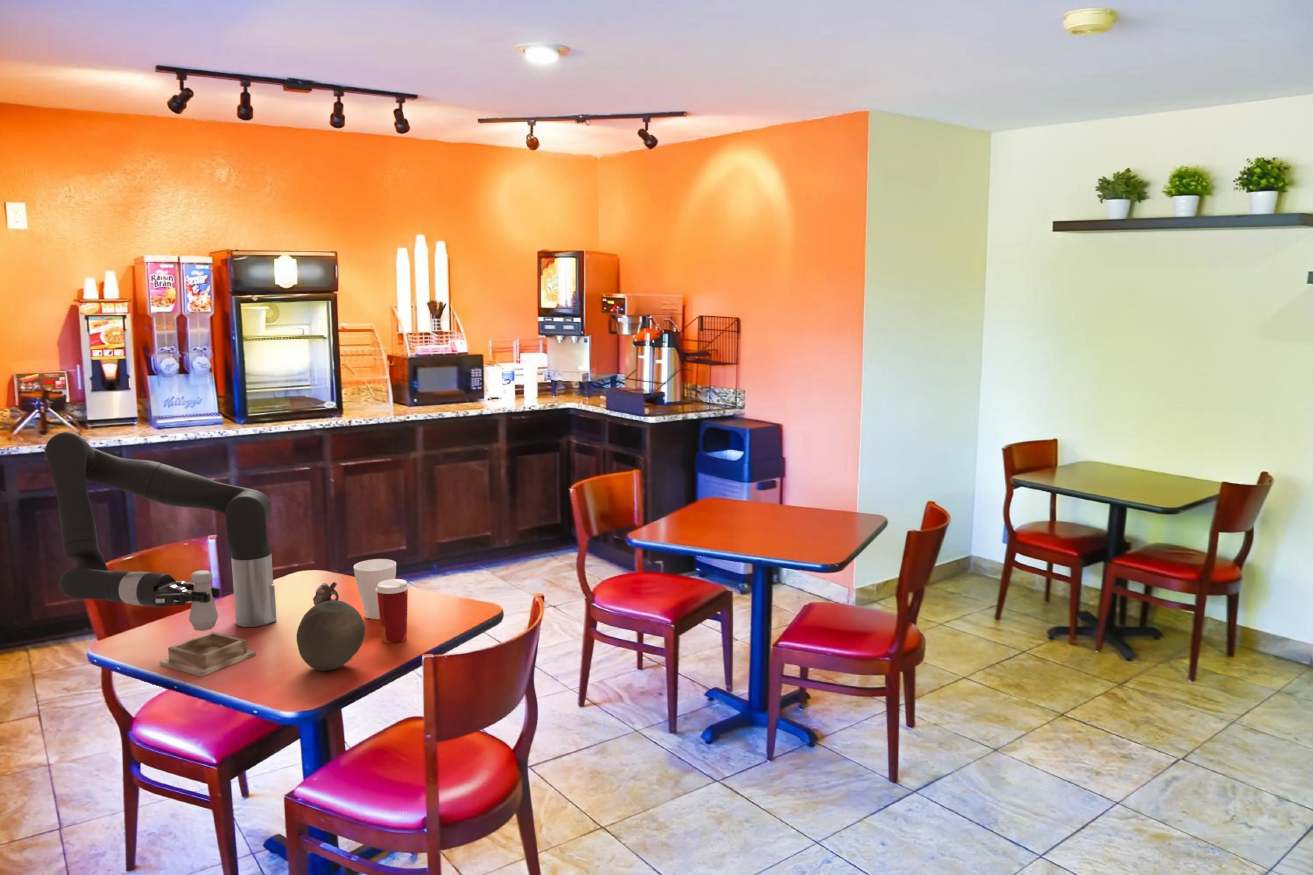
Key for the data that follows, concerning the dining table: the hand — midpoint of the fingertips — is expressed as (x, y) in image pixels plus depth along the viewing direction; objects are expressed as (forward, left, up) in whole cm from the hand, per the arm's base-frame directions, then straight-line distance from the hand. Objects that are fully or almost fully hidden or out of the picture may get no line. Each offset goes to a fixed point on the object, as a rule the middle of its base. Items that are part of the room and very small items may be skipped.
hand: (214, 595), depth 210 cm
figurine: (-25, -9, -16) cm, 31 cm away
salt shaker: (+2, -2, -8) cm, 9 cm away
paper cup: (-38, +5, -16) cm, 41 cm away
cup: (-38, -14, -16) cm, 43 cm away
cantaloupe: (-22, +16, -16) cm, 32 cm away
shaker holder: (+2, -2, -15) cm, 16 cm away
